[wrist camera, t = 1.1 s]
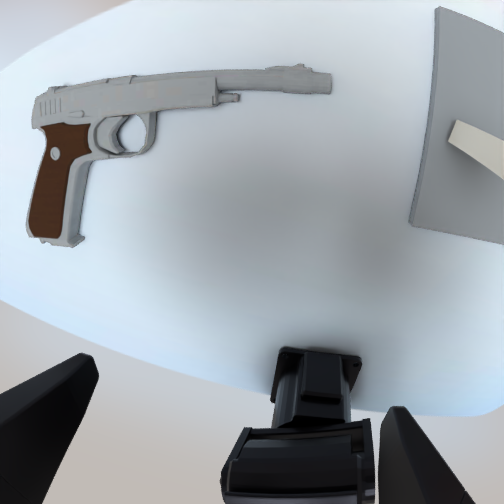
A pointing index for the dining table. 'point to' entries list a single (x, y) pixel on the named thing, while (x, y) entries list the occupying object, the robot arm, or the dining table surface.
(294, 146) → the dining table surface
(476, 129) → the lever
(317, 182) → the dining table surface
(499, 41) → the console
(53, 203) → the handgun
